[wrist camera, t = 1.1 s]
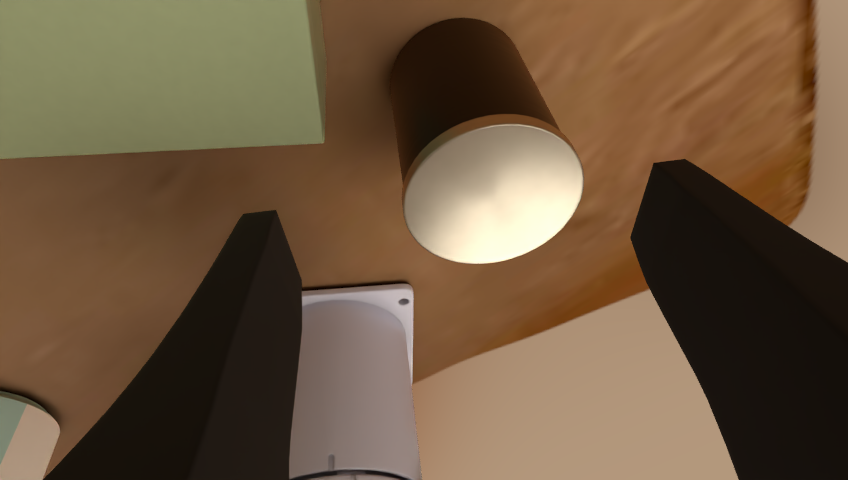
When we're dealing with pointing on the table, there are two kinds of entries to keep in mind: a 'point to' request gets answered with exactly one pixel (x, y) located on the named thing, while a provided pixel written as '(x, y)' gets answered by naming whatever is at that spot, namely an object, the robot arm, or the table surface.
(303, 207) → the table surface
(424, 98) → the canister
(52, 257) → the table surface
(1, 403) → the can
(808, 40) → the table surface
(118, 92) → the shelf
